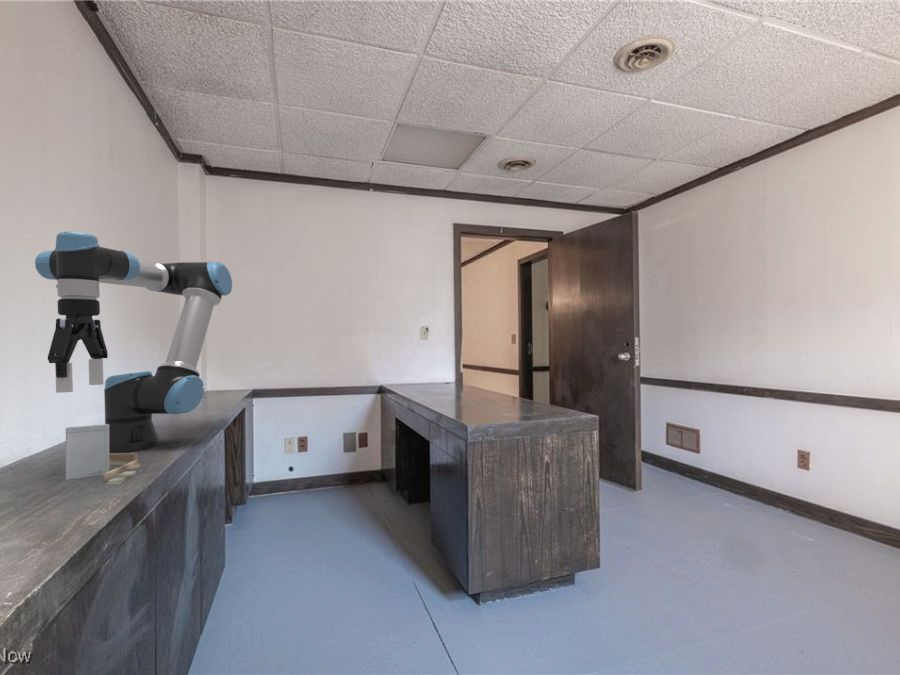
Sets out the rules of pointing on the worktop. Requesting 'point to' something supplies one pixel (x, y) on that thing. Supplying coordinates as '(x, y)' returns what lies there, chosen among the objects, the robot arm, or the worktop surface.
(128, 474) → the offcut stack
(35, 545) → the worktop surface
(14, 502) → the worktop surface
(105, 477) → the birch rack
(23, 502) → the worktop surface
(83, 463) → the hard drive
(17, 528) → the worktop surface
